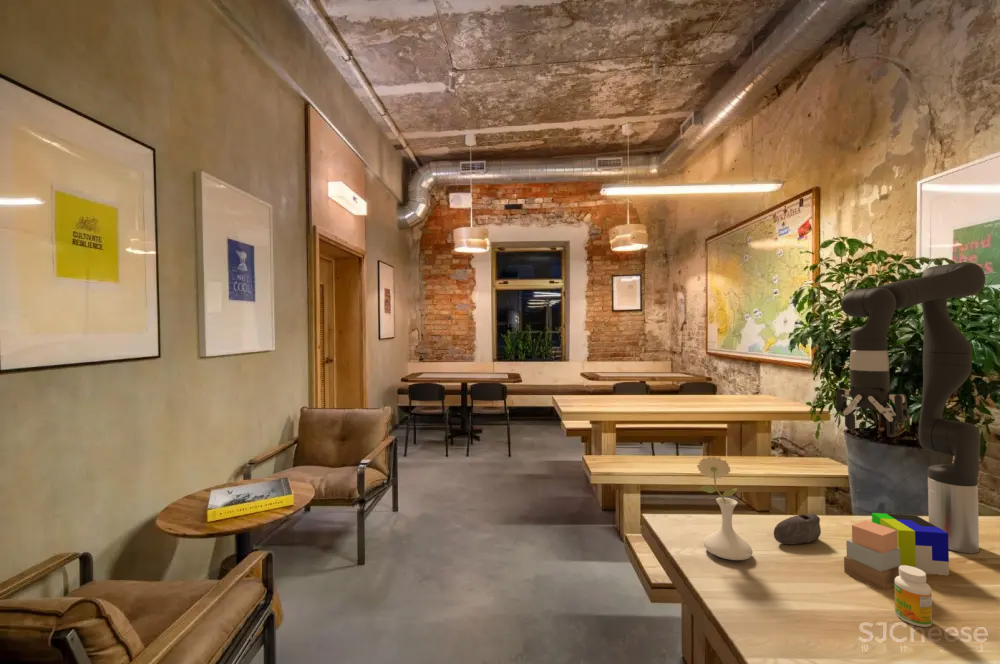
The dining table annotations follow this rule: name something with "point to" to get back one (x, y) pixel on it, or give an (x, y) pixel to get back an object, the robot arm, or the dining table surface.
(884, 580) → the tower base
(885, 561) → the tower top
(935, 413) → the robot arm
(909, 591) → the supplement bottle
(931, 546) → the puzzle toy
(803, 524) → the perforated stone tool
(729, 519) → the flower in vase
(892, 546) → the clay block
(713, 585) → the dining table surface
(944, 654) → the dining table surface
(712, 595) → the dining table surface
